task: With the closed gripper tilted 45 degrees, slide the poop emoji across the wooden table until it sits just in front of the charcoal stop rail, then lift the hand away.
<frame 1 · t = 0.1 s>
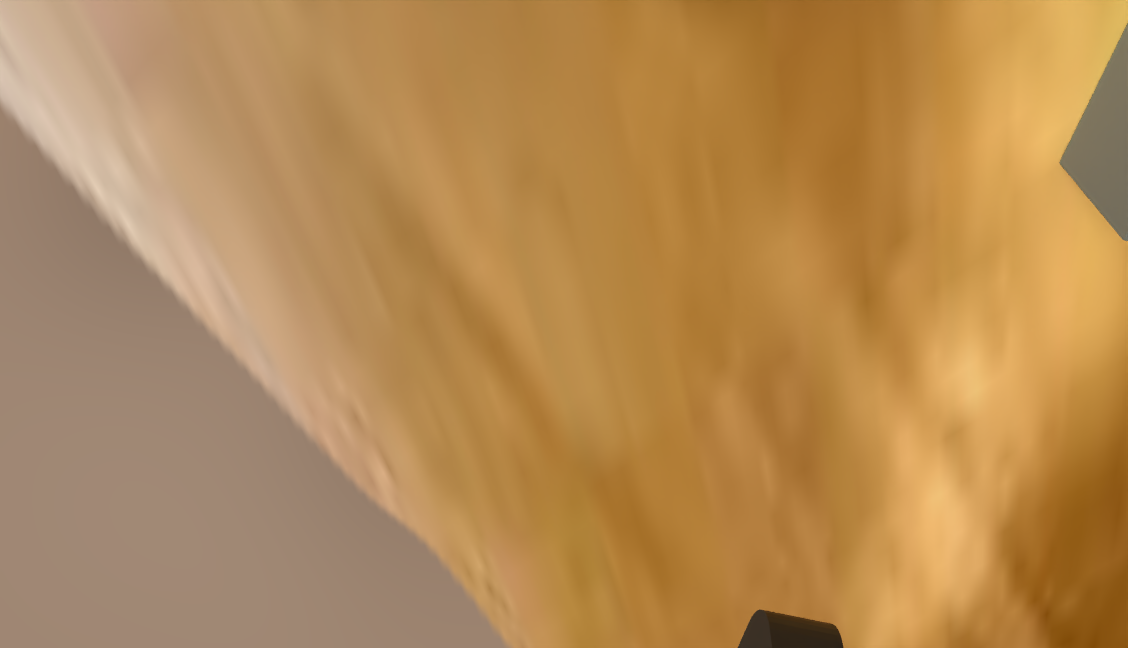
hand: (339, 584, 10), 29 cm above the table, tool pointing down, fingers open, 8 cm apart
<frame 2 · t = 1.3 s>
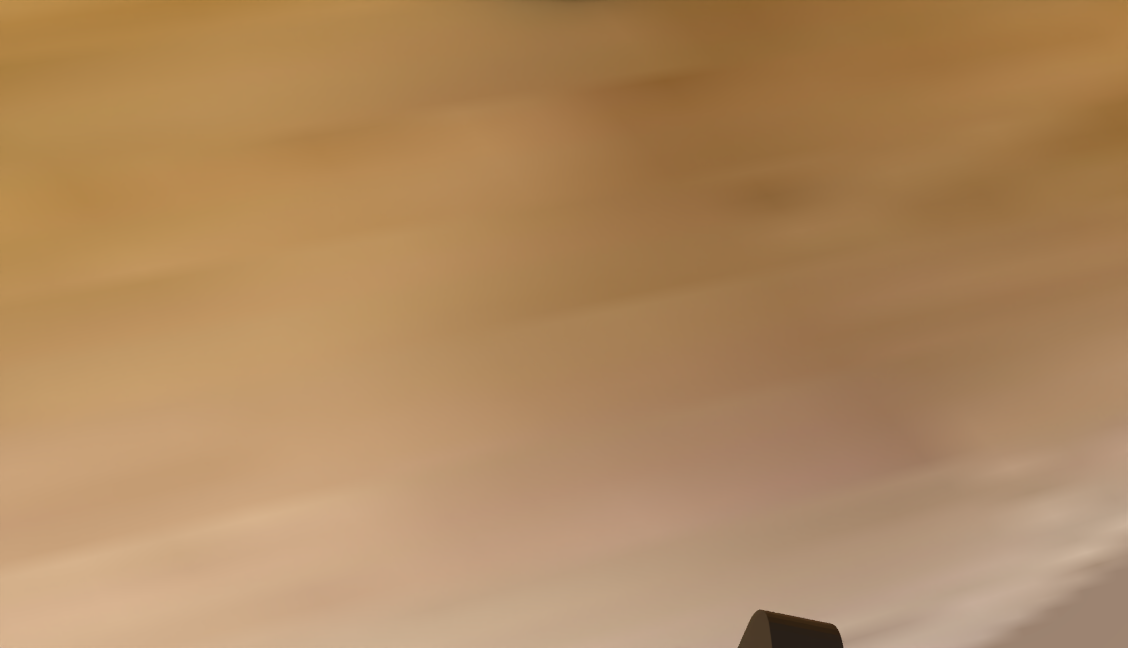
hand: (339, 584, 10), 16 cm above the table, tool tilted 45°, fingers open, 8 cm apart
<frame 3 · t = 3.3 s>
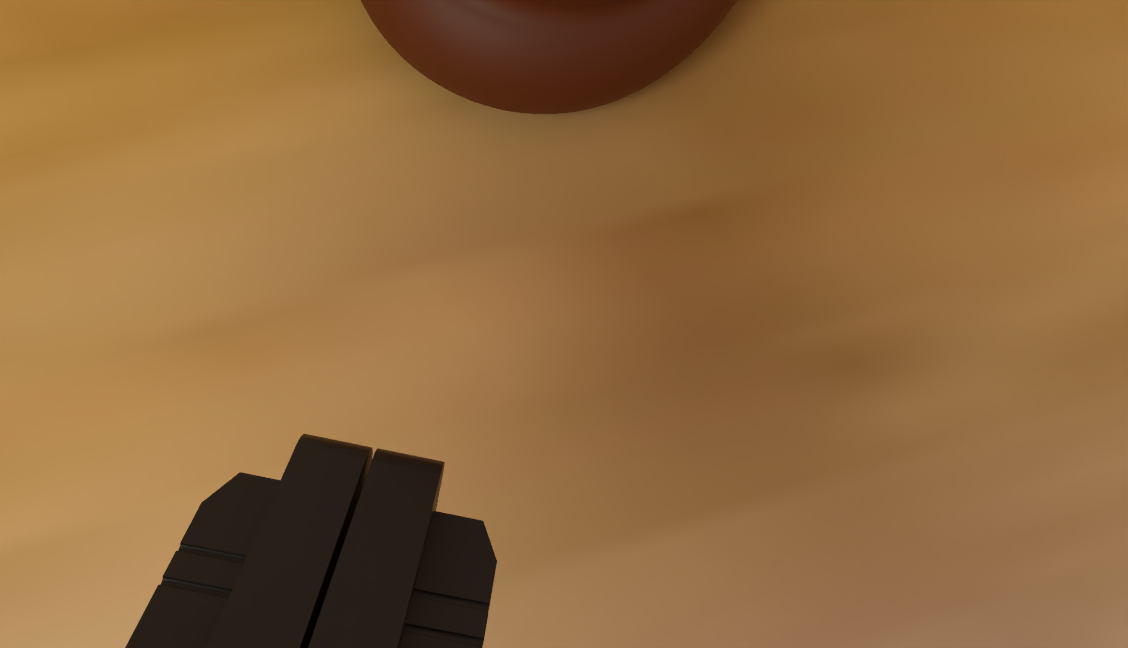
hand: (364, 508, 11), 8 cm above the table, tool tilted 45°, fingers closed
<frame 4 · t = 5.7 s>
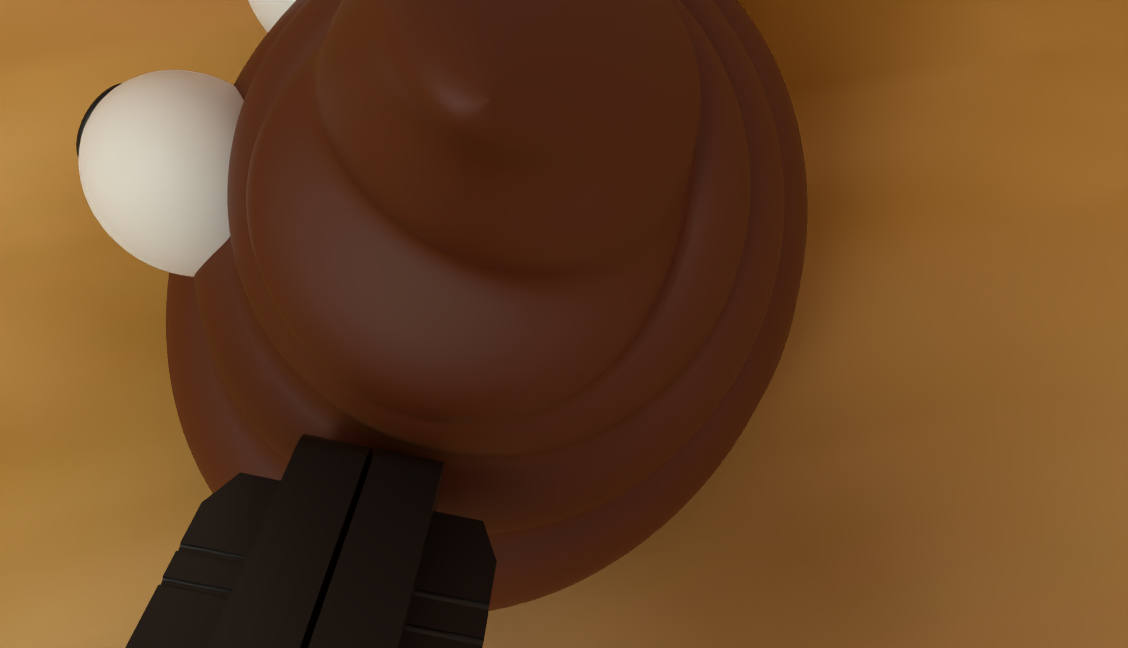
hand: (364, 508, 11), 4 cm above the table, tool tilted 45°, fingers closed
poop emoji: (482, 285, 17), on the table, touching gripper
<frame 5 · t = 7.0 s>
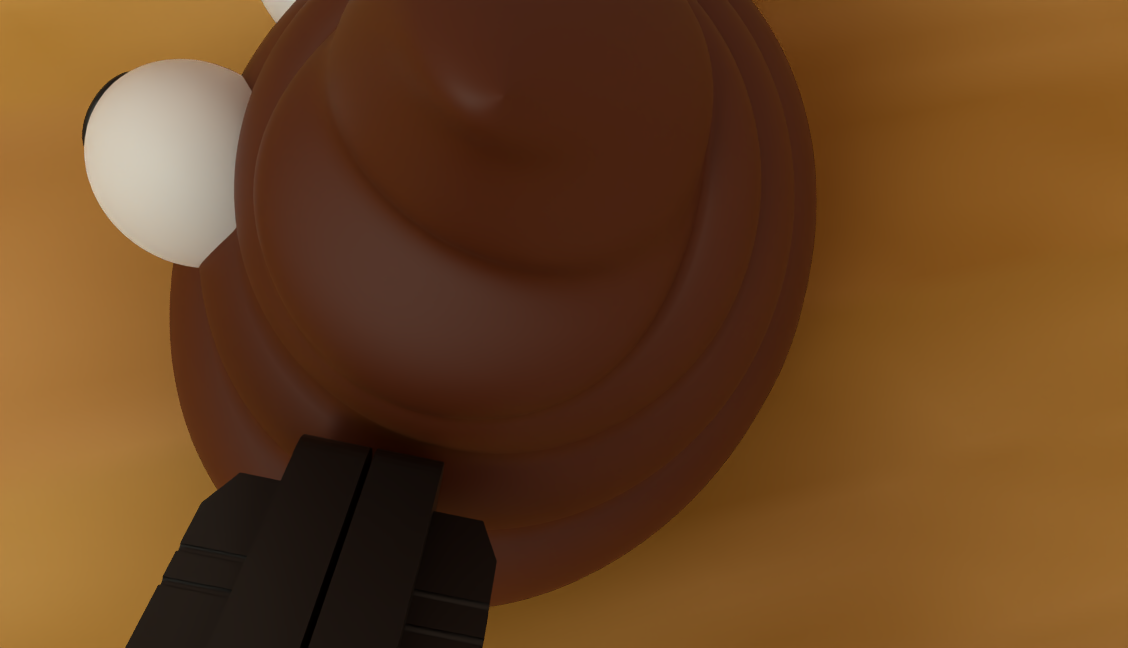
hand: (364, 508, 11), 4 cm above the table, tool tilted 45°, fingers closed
poop emoji: (487, 280, 17), on the table, touching gripper
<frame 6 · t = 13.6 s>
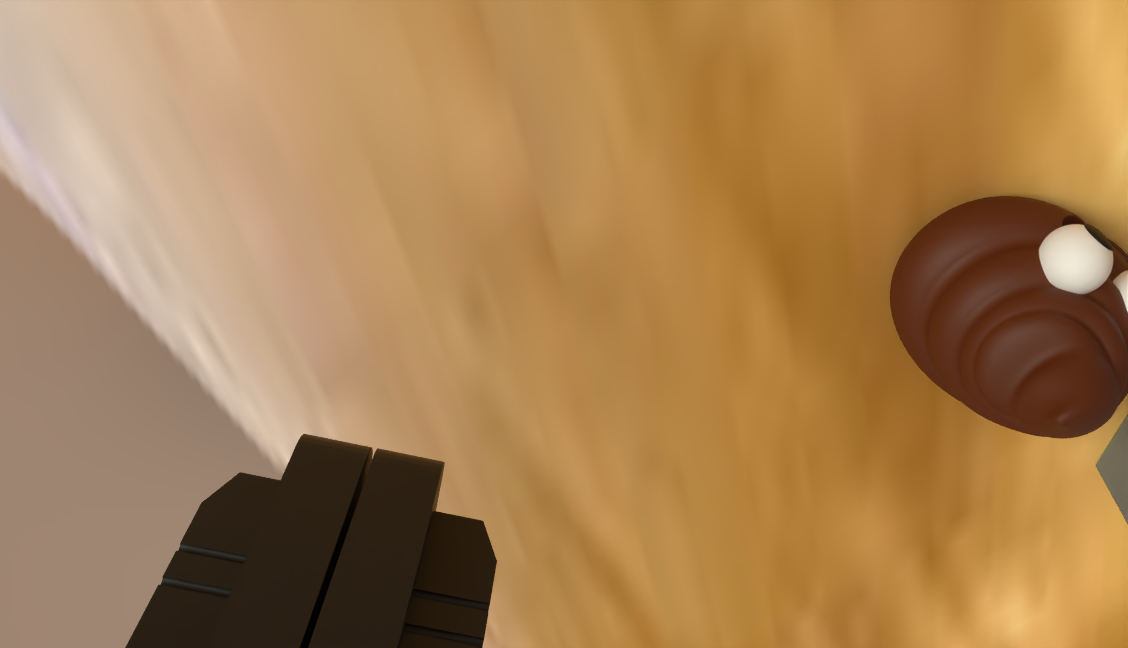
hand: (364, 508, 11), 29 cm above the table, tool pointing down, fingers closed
poop emoji: (1007, 284, 42), on the table
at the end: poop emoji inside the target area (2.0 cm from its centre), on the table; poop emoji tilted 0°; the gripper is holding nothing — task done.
